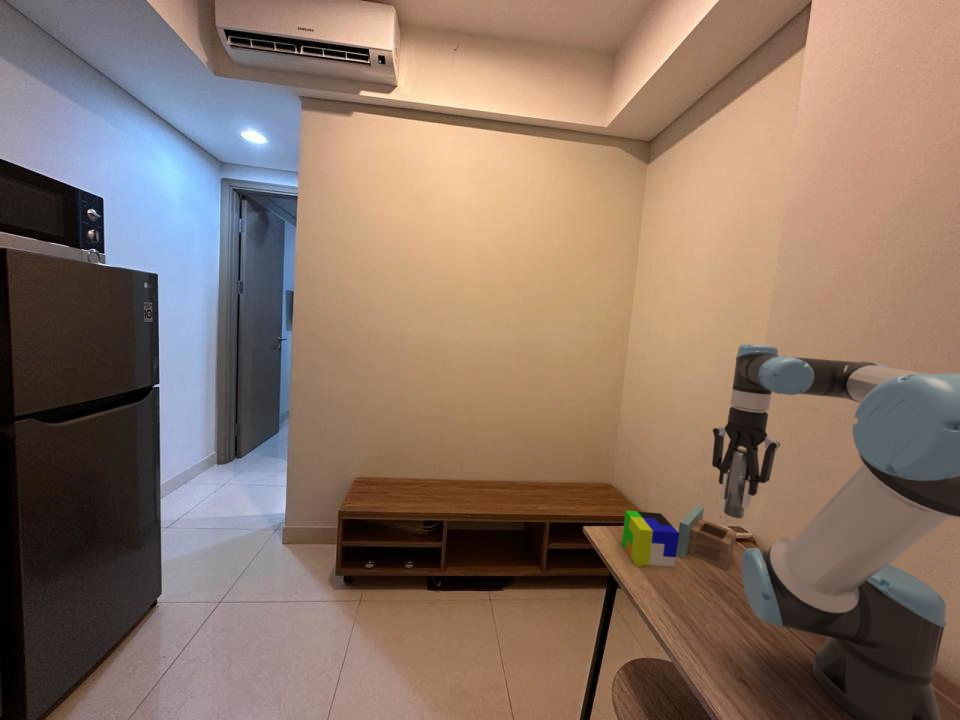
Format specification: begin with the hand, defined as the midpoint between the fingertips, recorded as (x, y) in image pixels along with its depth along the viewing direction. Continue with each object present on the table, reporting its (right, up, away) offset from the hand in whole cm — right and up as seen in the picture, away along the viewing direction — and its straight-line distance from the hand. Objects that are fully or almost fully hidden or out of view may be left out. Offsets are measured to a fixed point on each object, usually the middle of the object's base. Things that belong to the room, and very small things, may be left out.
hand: (735, 501), depth 90 cm
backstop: (+4, -20, +9) cm, 23 cm away
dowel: (0, -3, 0) cm, 3 cm away
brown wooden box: (+2, -19, +12) cm, 23 cm away
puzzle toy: (-17, -19, +11) cm, 28 cm away
